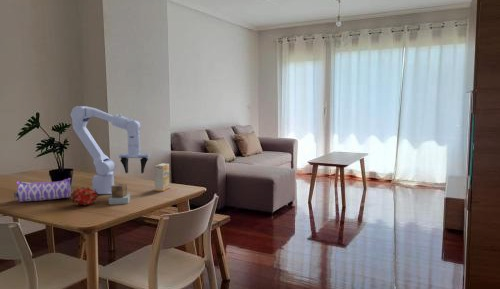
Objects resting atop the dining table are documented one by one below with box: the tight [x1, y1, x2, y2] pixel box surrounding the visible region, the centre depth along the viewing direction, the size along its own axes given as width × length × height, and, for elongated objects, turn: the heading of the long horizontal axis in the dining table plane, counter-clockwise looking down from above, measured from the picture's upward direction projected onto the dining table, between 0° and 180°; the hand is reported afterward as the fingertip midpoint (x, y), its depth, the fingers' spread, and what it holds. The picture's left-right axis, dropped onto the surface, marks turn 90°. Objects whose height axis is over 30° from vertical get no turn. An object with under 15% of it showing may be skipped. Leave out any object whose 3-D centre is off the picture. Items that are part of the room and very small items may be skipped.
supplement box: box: [154, 163, 171, 192], centre depth 189 cm, size 8×5×13 cm, turn 169°
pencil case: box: [13, 177, 72, 203], centre depth 168 cm, size 22×9×10 cm, turn 112°
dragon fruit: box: [69, 186, 100, 207], centre depth 160 cm, size 8×8×12 cm
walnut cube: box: [111, 183, 128, 198], centre depth 165 cm, size 5×5×5 cm
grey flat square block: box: [108, 193, 131, 205], centre depth 165 cm, size 8×8×3 cm
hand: (134, 172), depth 181 cm, fingers open, 7 cm apart
